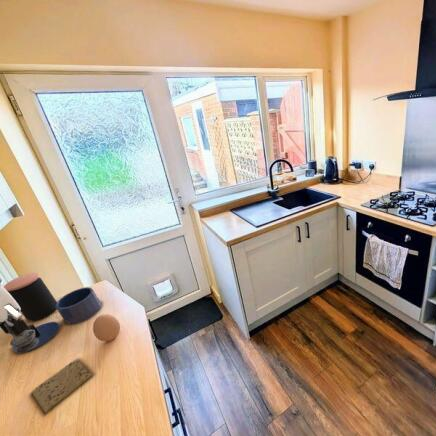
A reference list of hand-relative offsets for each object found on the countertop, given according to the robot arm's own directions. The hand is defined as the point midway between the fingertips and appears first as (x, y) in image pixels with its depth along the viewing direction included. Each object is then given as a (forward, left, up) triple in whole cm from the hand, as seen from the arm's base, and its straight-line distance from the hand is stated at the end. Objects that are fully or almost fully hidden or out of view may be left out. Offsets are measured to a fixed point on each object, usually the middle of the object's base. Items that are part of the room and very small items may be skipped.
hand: (17, 330), depth 77 cm
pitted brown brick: (+13, -4, -17) cm, 22 cm away
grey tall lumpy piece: (0, 0, -7) cm, 7 cm away
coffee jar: (-32, +19, -17) cm, 41 cm away
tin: (-12, +22, -17) cm, 30 cm away
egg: (+14, +14, -17) cm, 26 cm away
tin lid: (-17, +8, -17) cm, 26 cm away
